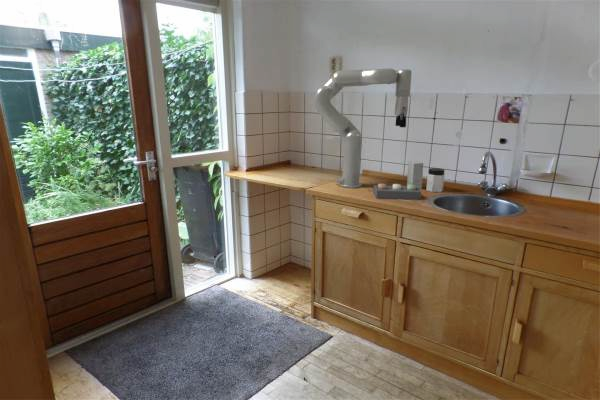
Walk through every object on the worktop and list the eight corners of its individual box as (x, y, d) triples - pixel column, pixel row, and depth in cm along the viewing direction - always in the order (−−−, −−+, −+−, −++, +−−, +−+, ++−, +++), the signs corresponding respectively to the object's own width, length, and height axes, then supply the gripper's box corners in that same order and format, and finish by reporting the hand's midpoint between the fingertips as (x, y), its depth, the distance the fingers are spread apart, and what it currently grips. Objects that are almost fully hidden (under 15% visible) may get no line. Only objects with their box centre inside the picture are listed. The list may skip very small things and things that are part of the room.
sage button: (407, 192, 201) (408, 186, 200) (405, 190, 205) (406, 184, 204) (416, 193, 201) (417, 186, 200) (414, 190, 205) (414, 184, 204)
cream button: (392, 192, 201) (393, 185, 200) (391, 190, 205) (391, 183, 205) (401, 192, 201) (402, 185, 200) (399, 190, 205) (400, 184, 204)
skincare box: (421, 189, 220) (424, 163, 216) (411, 189, 219) (414, 163, 215) (415, 185, 228) (418, 160, 224) (405, 186, 227) (408, 160, 223)
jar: (423, 189, 220) (425, 168, 217) (434, 188, 223) (436, 167, 220) (434, 193, 212) (437, 171, 209) (445, 191, 215) (448, 170, 212)
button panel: (376, 198, 199) (377, 190, 198) (373, 192, 210) (373, 185, 209) (420, 199, 198) (421, 192, 197) (414, 193, 209) (415, 186, 208)
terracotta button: (378, 191, 202) (378, 185, 201) (377, 189, 206) (377, 183, 205) (386, 192, 201) (387, 185, 200) (385, 190, 206) (386, 183, 205)
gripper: (392, 94, 217) (390, 125, 221) (399, 93, 200) (397, 127, 204) (405, 94, 216) (403, 125, 221) (414, 93, 200) (411, 127, 204)
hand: (400, 126), depth 213 cm, fingers open, 9 cm apart
